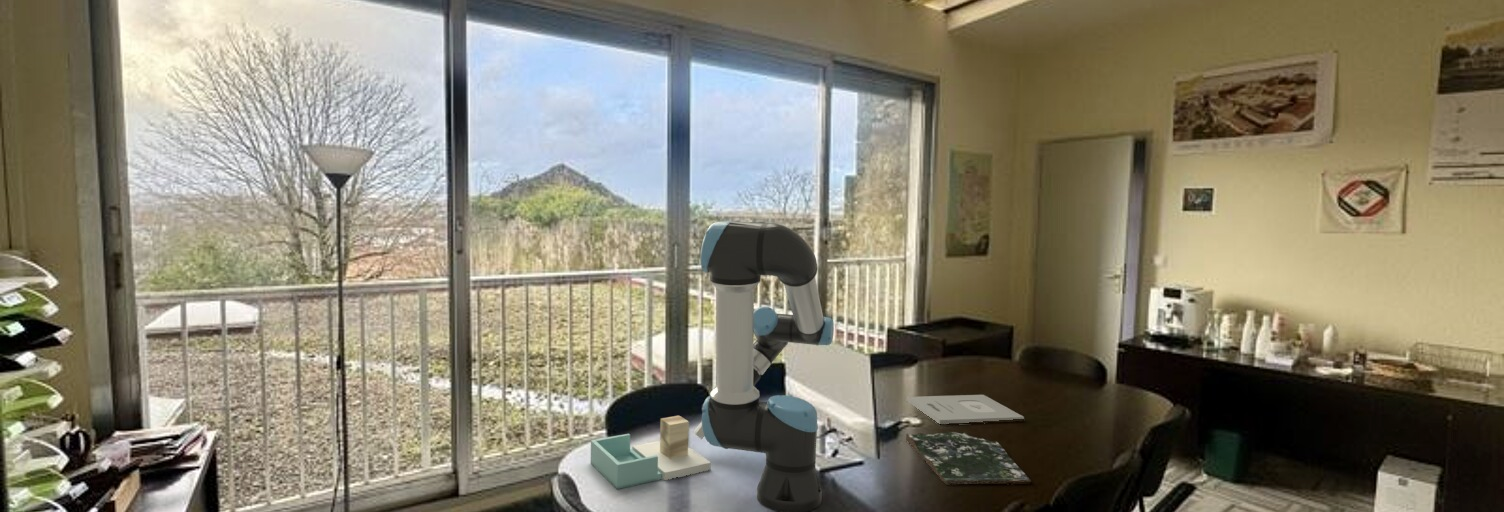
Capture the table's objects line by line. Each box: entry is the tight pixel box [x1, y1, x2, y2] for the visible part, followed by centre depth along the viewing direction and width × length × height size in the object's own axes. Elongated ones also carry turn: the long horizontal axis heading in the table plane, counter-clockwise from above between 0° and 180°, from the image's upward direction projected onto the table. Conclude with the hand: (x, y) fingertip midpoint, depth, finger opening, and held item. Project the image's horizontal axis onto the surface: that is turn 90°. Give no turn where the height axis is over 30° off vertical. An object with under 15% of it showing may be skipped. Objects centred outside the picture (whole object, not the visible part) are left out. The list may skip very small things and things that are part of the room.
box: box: [590, 433, 662, 490], centre depth 167 cm, size 18×12×6 cm, turn 34°
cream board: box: [631, 440, 712, 481], centre depth 175 cm, size 20×13×2 cm, turn 34°
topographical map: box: [905, 431, 1032, 486], centre depth 183 cm, size 26×33×3 cm
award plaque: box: [906, 394, 1025, 424], centre depth 226 cm, size 25×30×2 cm
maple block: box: [659, 415, 690, 459], centre depth 175 cm, size 6×6×9 cm
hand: (697, 435), depth 179 cm, fingers closed
